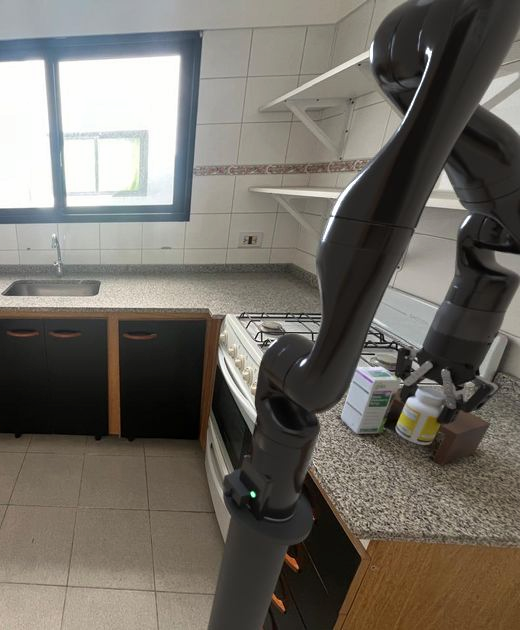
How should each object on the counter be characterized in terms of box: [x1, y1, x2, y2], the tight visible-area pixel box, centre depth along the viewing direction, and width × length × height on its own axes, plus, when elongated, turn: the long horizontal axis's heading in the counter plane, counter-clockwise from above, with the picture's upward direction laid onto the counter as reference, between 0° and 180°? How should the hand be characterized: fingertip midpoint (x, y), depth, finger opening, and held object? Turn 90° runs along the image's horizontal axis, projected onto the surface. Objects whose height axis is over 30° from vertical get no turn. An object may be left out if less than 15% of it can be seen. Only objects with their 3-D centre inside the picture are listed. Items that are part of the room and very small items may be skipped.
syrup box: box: [340, 365, 402, 435], centre depth 77 cm, size 6×6×14 cm
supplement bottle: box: [395, 385, 447, 446], centre depth 63 cm, size 5×5×10 cm
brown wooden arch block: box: [385, 387, 492, 466], centre depth 75 cm, size 10×14×8 cm
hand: (423, 411), depth 63 cm, fingers closed on supplement bottle, 5 cm apart
